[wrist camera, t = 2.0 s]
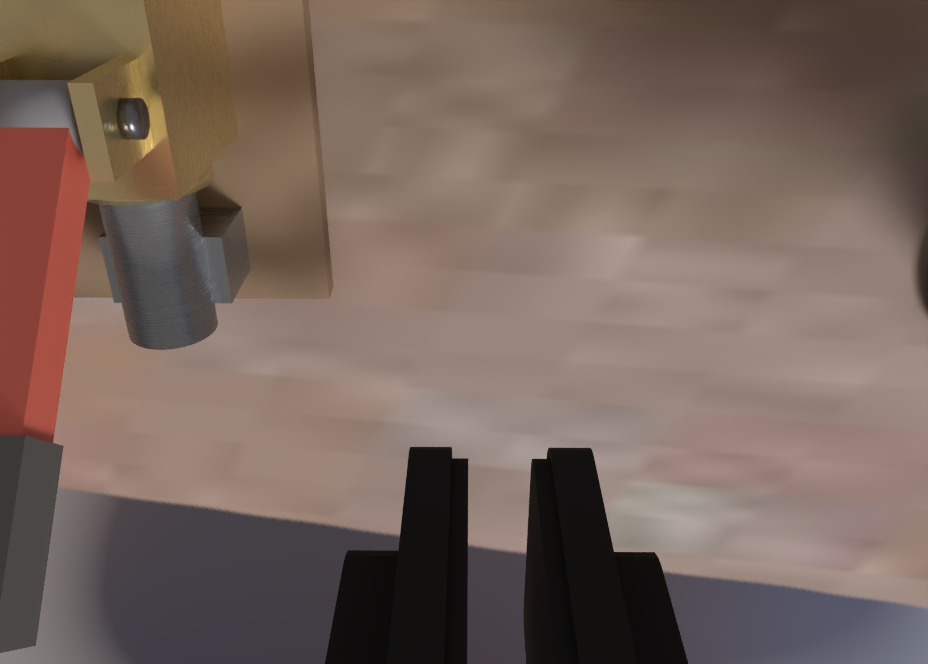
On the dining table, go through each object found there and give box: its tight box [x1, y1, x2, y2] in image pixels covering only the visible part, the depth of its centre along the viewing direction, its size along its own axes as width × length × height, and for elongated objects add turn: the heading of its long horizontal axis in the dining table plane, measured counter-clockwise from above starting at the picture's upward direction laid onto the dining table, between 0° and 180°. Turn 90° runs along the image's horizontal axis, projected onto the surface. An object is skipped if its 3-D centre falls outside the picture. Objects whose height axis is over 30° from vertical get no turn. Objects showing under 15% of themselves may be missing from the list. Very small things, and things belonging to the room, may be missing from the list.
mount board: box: [74, 0, 333, 298], centre depth 33 cm, size 22×12×1 cm, turn 0°
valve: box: [0, 0, 251, 350], centre depth 28 cm, size 21×6×11 cm, turn 0°
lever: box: [0, 80, 90, 653], centre depth 22 cm, size 16×3×2 cm
